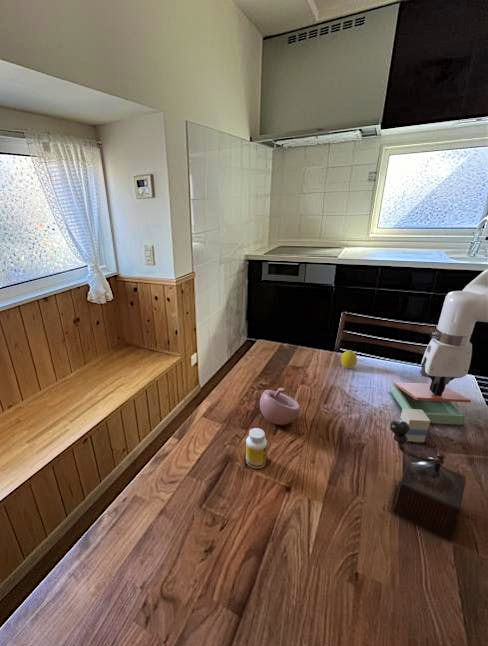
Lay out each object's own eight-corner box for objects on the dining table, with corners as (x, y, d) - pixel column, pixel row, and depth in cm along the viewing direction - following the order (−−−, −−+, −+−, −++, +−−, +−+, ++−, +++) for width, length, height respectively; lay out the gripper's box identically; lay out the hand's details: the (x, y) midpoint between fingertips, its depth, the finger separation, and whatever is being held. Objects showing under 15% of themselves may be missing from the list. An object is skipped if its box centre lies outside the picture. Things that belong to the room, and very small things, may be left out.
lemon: (341, 371, 129) (343, 353, 125) (338, 364, 134) (341, 346, 130) (356, 372, 127) (359, 354, 124) (353, 365, 132) (356, 347, 129)
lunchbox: (461, 426, 98) (465, 416, 96) (409, 423, 100) (412, 413, 99) (435, 395, 112) (438, 386, 110) (391, 393, 114) (393, 384, 113)
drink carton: (416, 432, 97) (422, 409, 94) (424, 444, 92) (430, 421, 89) (396, 430, 98) (402, 408, 95) (403, 443, 93) (409, 420, 90)
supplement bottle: (266, 470, 88) (267, 441, 84) (245, 468, 89) (245, 439, 85) (266, 455, 93) (267, 426, 89) (246, 453, 94) (246, 425, 90)
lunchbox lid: (470, 402, 94) (470, 399, 94) (416, 400, 96) (416, 397, 96) (438, 386, 110) (439, 383, 110) (393, 384, 112) (393, 382, 112)
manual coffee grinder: (456, 504, 75) (480, 442, 68) (449, 541, 68) (474, 477, 61) (380, 471, 85) (393, 414, 78) (367, 500, 78) (380, 440, 70)
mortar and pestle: (307, 424, 103) (310, 393, 98) (275, 438, 98) (277, 406, 94) (281, 404, 113) (282, 375, 108) (251, 416, 108) (252, 386, 104)
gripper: (427, 342, 89) (412, 399, 97) (492, 343, 86) (471, 402, 94) (415, 330, 96) (402, 385, 104) (475, 331, 93) (457, 387, 101)
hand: (435, 393), depth 99 cm, fingers closed
